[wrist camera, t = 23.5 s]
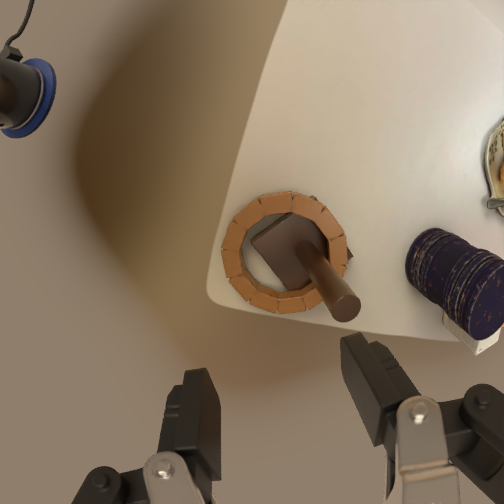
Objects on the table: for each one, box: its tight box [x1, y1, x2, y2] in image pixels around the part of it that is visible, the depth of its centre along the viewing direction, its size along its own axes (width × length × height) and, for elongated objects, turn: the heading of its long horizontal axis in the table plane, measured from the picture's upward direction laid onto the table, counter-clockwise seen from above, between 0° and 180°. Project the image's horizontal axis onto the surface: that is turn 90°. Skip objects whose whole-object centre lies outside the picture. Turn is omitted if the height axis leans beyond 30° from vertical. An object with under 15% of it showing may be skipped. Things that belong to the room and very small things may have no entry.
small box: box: [443, 311, 501, 355], centre depth 36 cm, size 8×6×10 cm
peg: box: [251, 196, 361, 322], centre depth 28 cm, size 9×9×16 cm
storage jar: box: [405, 228, 504, 341], centre depth 31 cm, size 10×10×15 cm
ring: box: [221, 191, 348, 314], centre depth 33 cm, size 14×14×2 cm
